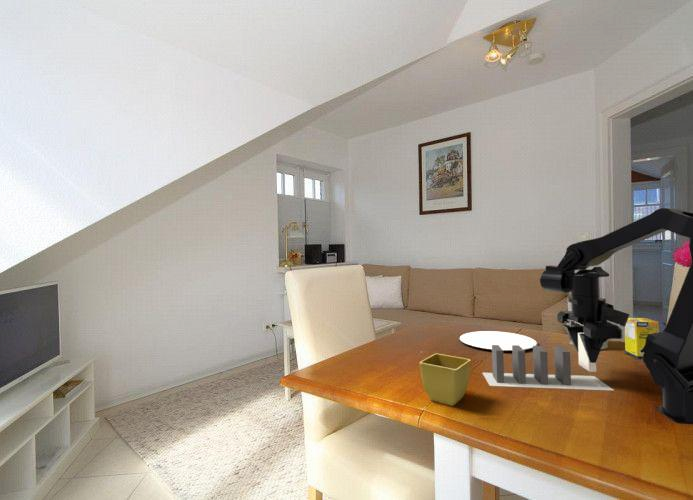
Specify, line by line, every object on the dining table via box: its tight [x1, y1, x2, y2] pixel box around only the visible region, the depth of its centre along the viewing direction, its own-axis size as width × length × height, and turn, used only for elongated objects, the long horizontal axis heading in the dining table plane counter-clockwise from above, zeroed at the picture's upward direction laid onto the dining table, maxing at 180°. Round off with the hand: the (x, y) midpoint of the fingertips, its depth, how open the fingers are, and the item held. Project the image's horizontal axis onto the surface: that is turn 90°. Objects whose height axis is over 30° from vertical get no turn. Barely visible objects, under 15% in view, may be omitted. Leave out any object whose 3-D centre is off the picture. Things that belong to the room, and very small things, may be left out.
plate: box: [459, 330, 538, 352], centre depth 123 cm, size 25×25×2 cm
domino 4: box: [553, 345, 572, 386], centre depth 86 cm, size 5×2×8 cm, turn 170°
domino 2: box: [511, 345, 527, 384], centre depth 88 cm, size 5×2×8 cm, turn 170°
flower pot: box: [418, 352, 472, 407], centre depth 78 cm, size 9×9×9 cm
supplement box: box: [624, 317, 660, 360], centre depth 104 cm, size 6×6×11 cm
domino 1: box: [491, 345, 505, 383], centre depth 89 cm, size 5×2×8 cm, turn 170°
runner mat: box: [482, 372, 615, 391], centre depth 87 cm, size 9×27×1 cm, turn 80°
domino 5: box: [577, 333, 597, 373], centre depth 85 cm, size 5×2×8 cm, turn 170°
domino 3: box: [532, 345, 549, 385], centre depth 87 cm, size 5×2×8 cm, turn 170°
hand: (587, 358), depth 85 cm, fingers closed on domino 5, 5 cm apart
